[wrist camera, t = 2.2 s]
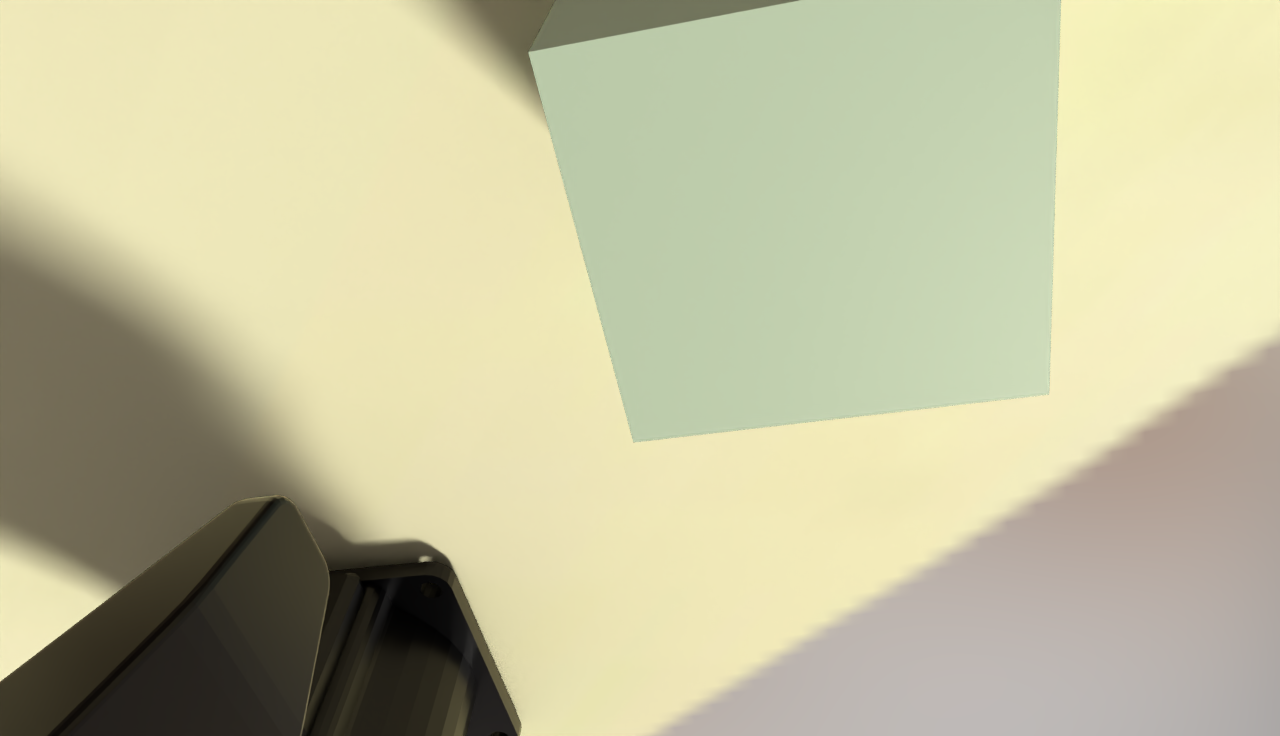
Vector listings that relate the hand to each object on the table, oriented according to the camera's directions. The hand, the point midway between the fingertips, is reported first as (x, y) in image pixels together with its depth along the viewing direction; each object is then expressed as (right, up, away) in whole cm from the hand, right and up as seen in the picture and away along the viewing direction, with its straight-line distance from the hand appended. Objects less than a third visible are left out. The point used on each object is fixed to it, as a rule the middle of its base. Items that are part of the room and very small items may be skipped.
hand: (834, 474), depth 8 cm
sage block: (+1, +6, +8) cm, 10 cm away
